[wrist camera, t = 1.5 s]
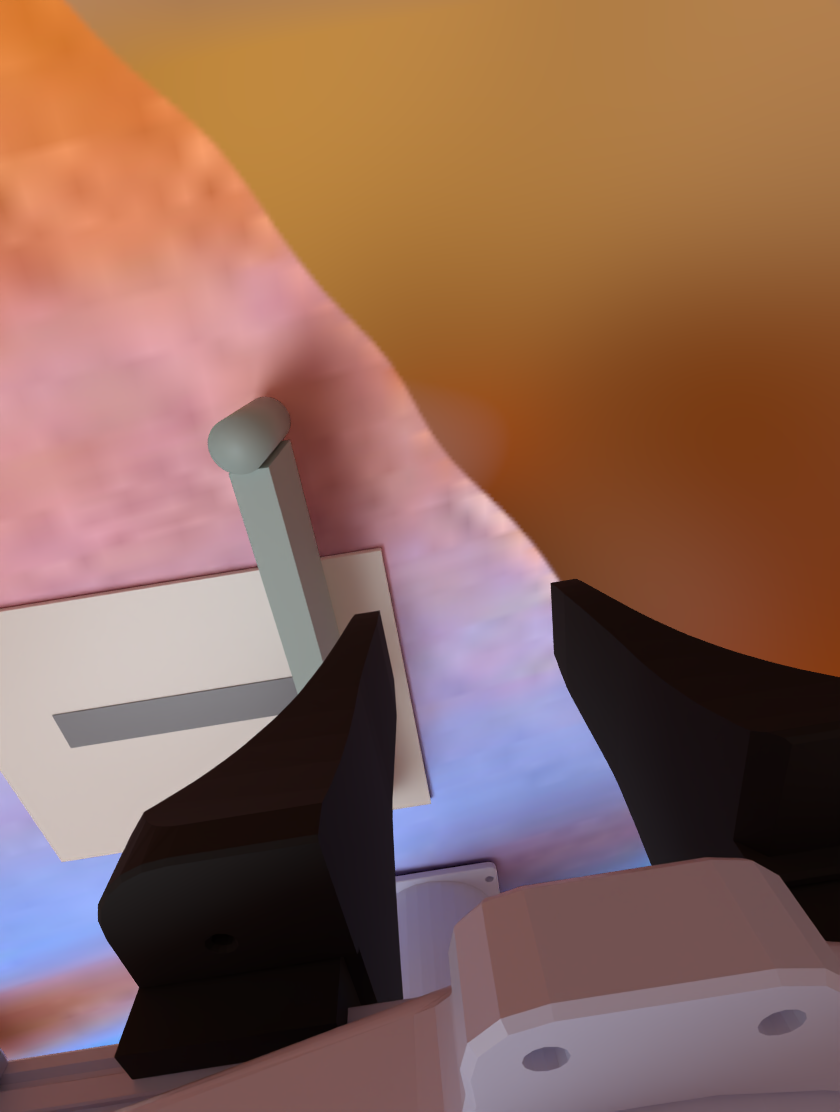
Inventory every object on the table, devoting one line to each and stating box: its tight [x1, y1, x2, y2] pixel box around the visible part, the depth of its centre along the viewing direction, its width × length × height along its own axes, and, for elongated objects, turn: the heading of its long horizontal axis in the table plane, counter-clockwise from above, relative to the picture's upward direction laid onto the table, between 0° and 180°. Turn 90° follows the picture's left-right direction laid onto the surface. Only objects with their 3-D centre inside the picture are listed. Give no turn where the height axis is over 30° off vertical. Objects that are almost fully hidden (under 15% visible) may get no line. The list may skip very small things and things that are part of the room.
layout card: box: [0, 548, 431, 862], centre depth 25 cm, size 15×20×1 cm
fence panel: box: [208, 397, 340, 694], centre depth 19 cm, size 12×2×4 cm, turn 8°
